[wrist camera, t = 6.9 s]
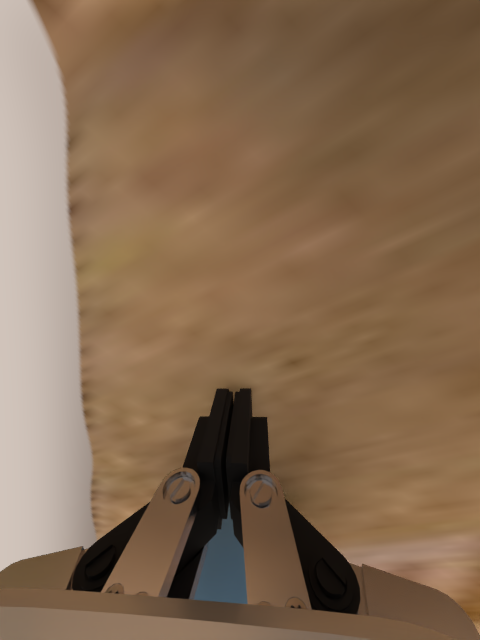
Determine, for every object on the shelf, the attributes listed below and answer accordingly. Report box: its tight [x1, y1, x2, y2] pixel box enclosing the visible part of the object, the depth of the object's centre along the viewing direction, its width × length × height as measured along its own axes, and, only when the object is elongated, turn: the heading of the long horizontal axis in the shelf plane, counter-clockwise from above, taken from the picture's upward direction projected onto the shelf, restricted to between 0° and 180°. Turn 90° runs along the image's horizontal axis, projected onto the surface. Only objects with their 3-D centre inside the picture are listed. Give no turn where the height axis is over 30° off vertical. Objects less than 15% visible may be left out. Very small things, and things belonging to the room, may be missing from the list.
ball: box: [194, 505, 248, 604], centre depth 13 cm, size 6×6×6 cm
